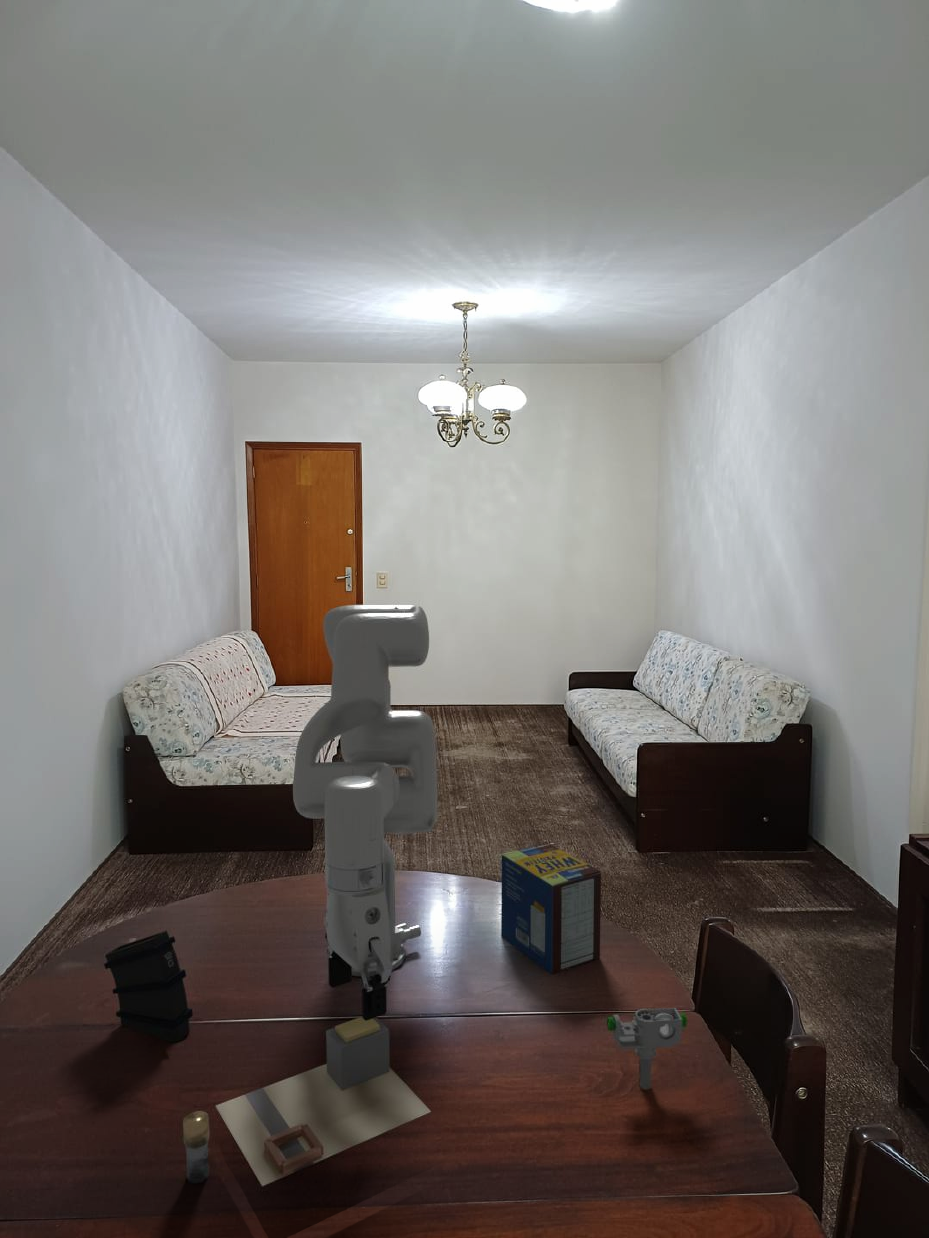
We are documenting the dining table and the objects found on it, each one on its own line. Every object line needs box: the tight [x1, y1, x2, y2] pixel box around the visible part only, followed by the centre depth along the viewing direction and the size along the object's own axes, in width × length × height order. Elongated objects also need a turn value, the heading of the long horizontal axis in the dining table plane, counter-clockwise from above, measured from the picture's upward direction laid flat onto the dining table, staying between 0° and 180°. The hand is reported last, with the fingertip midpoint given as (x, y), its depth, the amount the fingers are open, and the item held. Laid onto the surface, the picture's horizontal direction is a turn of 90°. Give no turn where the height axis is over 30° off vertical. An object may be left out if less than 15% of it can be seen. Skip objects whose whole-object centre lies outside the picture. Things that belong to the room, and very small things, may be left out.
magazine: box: [103, 930, 193, 1044], centre depth 130 cm, size 4×13×15 cm, turn 64°
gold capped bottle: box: [182, 1110, 210, 1184], centre depth 102 cm, size 3×3×7 cm
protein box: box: [500, 842, 602, 975], centre depth 154 cm, size 10×15×16 cm
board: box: [215, 1063, 432, 1187], centre depth 112 cm, size 22×16×2 cm
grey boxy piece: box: [325, 1016, 391, 1091], centre depth 118 cm, size 7×4×7 cm, turn 124°
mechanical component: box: [606, 1007, 688, 1091], centre depth 117 cm, size 3×10×10 cm, turn 95°
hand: (356, 999), depth 117 cm, fingers open, 9 cm apart
